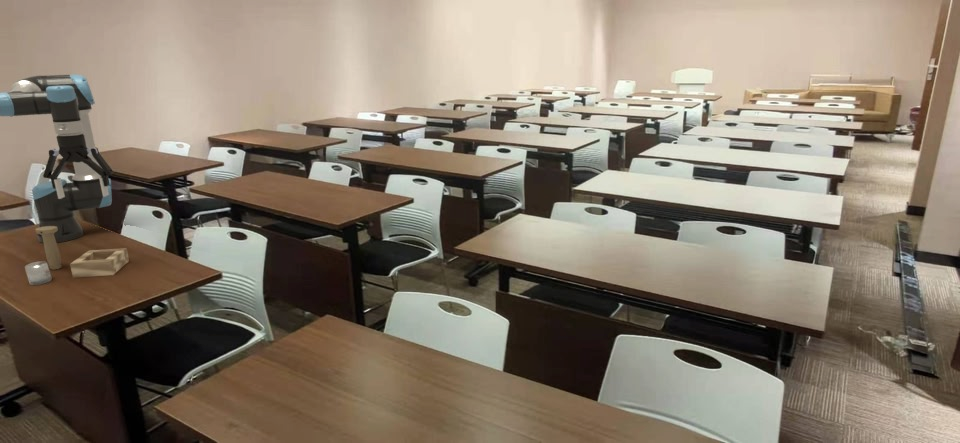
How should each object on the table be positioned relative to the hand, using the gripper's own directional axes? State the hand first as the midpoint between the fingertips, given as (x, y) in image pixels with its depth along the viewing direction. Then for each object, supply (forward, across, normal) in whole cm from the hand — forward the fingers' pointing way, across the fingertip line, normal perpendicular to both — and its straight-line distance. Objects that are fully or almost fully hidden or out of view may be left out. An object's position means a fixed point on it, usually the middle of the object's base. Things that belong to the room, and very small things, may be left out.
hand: (83, 196), depth 192 cm
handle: (+27, -16, +4) cm, 31 cm away
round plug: (+26, -15, -8) cm, 31 cm away
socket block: (+26, +1, 0) cm, 26 cm away
